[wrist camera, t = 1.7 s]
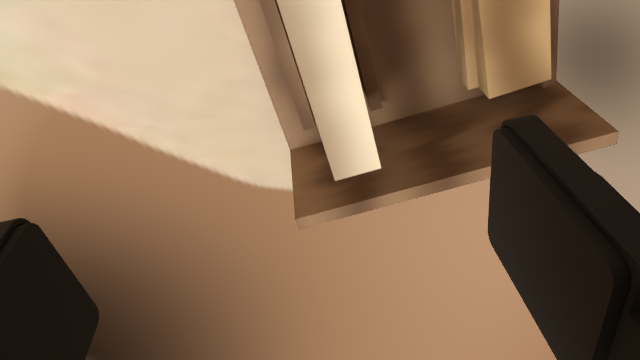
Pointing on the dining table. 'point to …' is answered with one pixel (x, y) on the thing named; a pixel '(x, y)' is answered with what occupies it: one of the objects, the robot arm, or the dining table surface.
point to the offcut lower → (464, 44)
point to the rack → (405, 107)
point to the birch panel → (331, 83)
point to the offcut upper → (511, 44)
